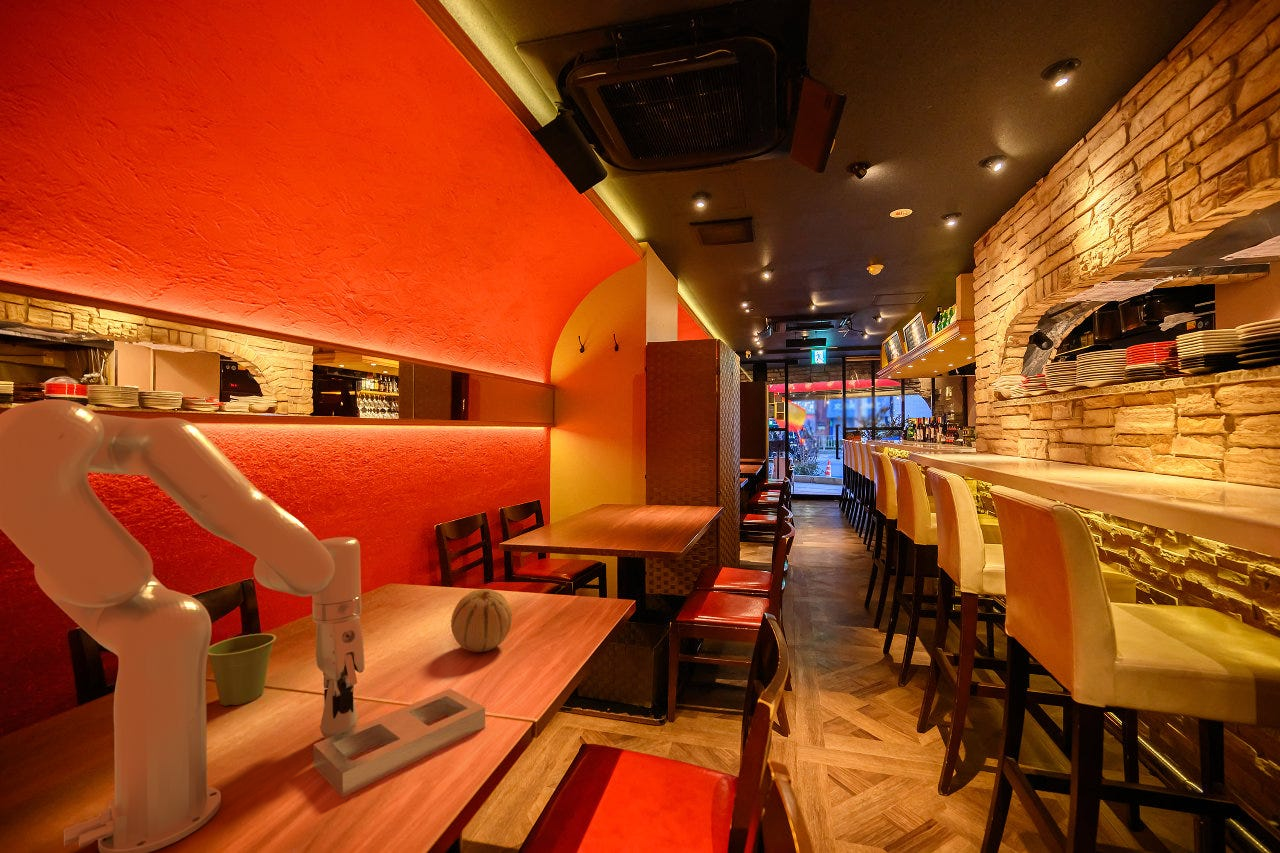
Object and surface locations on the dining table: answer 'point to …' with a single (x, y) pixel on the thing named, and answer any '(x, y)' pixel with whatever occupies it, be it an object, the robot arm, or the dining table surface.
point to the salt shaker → (341, 720)
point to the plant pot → (241, 667)
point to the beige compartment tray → (396, 740)
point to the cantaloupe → (481, 620)
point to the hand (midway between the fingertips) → (338, 711)
